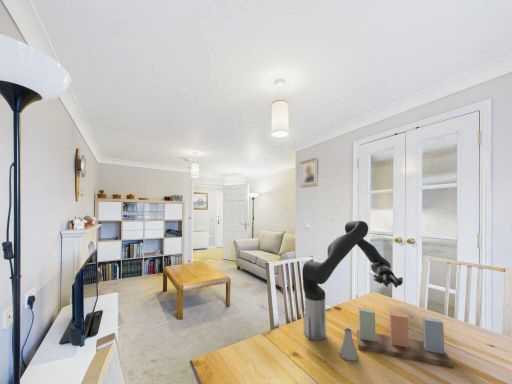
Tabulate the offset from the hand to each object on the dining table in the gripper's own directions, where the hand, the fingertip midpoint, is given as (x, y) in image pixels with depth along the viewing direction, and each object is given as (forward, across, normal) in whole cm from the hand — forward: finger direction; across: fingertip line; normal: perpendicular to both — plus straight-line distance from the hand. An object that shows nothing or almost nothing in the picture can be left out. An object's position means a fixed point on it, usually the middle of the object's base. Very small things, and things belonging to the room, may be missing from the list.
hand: (391, 284), depth 111 cm
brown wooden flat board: (+13, 0, +22) cm, 26 cm away
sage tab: (+13, -12, +20) cm, 27 cm away
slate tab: (+13, +12, +20) cm, 27 cm away
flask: (+25, -20, +22) cm, 39 cm away
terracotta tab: (+13, 0, +20) cm, 24 cm away
